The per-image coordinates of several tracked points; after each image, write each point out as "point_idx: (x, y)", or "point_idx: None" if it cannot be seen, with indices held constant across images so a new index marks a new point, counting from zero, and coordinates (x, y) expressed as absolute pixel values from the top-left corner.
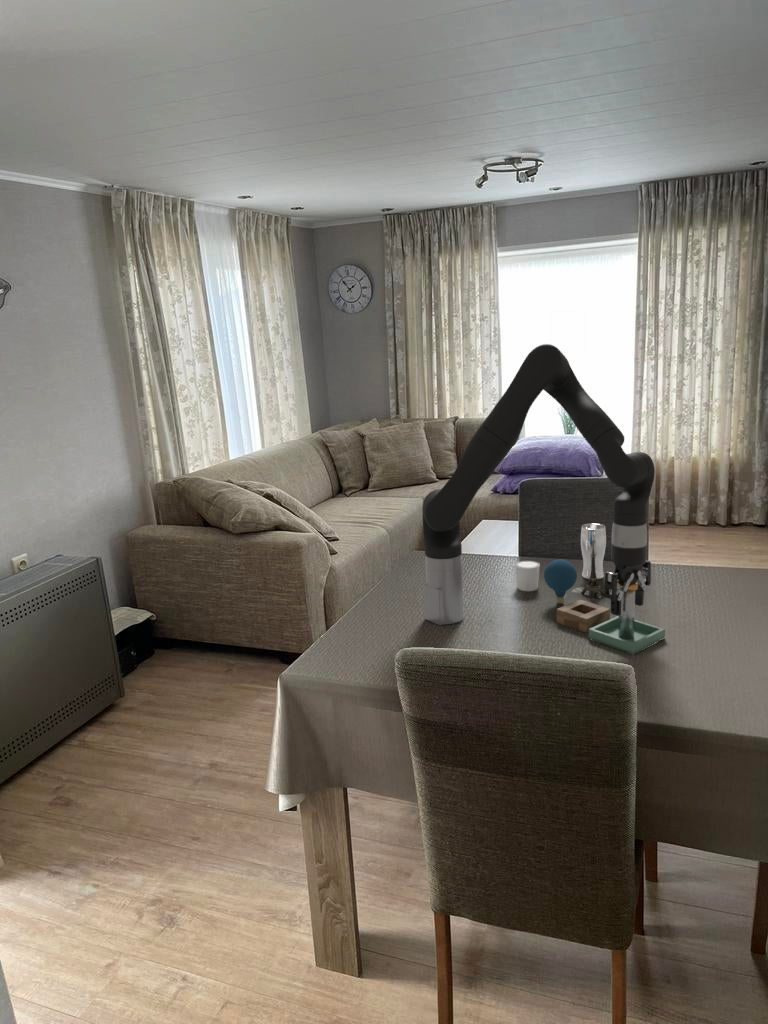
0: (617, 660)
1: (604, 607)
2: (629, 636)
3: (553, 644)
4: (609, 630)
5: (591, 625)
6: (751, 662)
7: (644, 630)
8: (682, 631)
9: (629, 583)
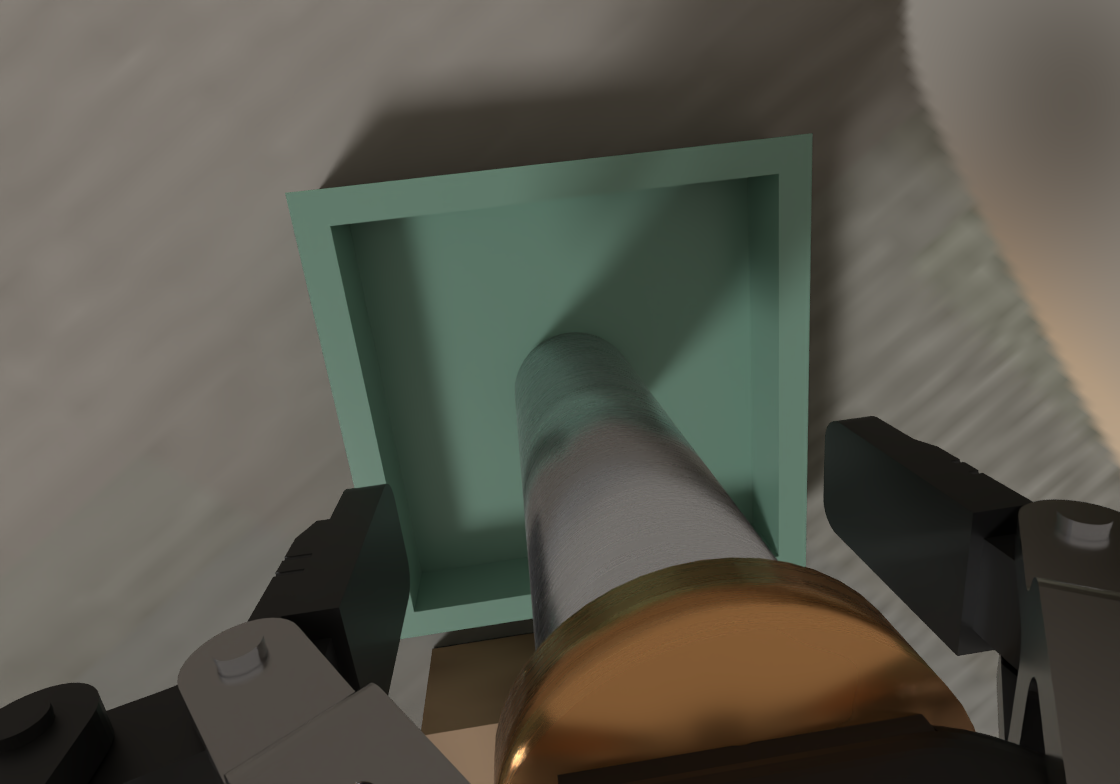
0: (927, 158)
1: None
2: (605, 342)
3: None
4: None
5: None
6: None
7: (376, 374)
8: (39, 208)
9: (1078, 736)
